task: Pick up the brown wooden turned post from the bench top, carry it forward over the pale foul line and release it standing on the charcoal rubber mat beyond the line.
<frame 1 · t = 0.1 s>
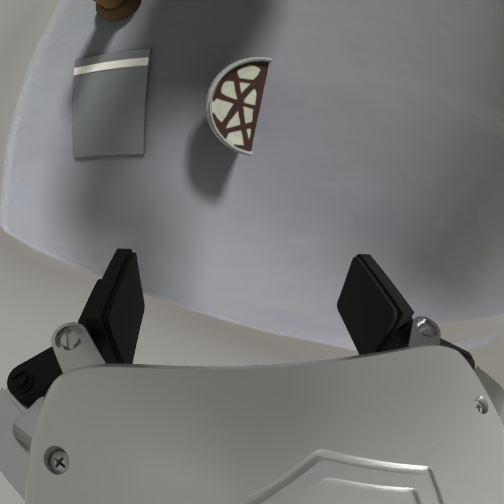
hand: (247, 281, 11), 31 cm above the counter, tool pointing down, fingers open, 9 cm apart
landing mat: (108, 103, 31), on the counter
brown wooden turned post: (121, 3, 23), on the counter
food container: (229, 101, 34), on the counter
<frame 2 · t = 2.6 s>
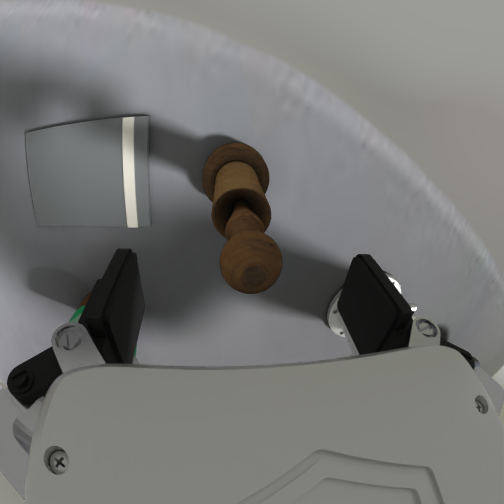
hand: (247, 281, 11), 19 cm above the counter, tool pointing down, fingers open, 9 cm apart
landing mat: (83, 174, 25), on the counter
brown wooden turned post: (234, 173, 28), on the counter
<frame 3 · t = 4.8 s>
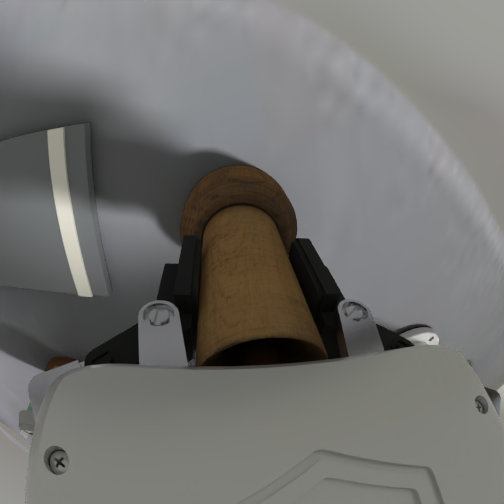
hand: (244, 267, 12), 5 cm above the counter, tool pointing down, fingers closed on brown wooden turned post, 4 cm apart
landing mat: (12, 218, 14), on the counter
brown wooden turned post: (236, 216, 17), on the counter, touching gripper
food container: (75, 366, 24), on the counter
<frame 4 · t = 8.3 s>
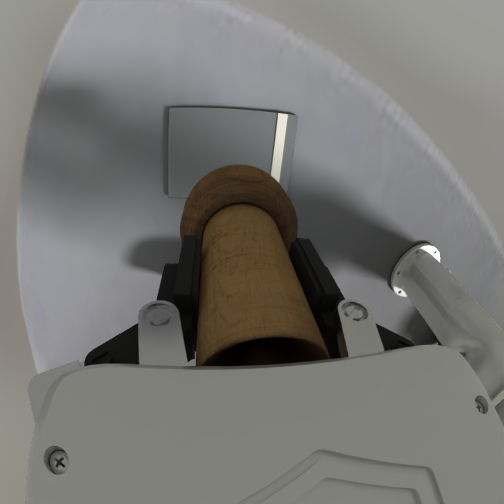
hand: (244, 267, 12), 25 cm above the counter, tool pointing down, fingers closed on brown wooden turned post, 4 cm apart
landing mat: (230, 153, 34), on the counter
brown wooden turned post: (236, 215, 17), point 20 cm above the counter, touching gripper
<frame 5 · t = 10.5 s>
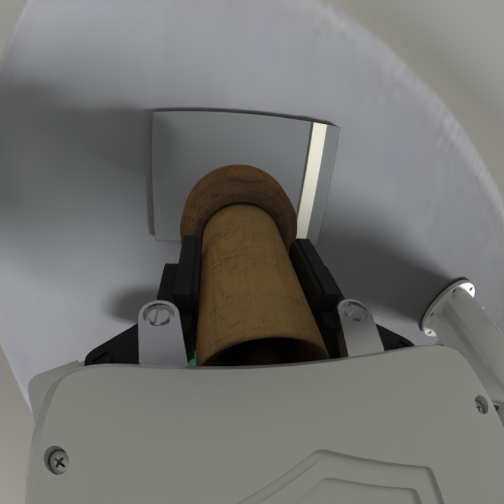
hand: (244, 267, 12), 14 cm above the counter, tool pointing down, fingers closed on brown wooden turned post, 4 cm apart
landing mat: (242, 179, 24), on the counter
brown wooden turned post: (236, 215, 17), point 8 cm above the counter, touching gripper
when the fingers open (8 cm above the counter, at t = 12.0 s): brown wooden turned post drops 1 cm, resting on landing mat.
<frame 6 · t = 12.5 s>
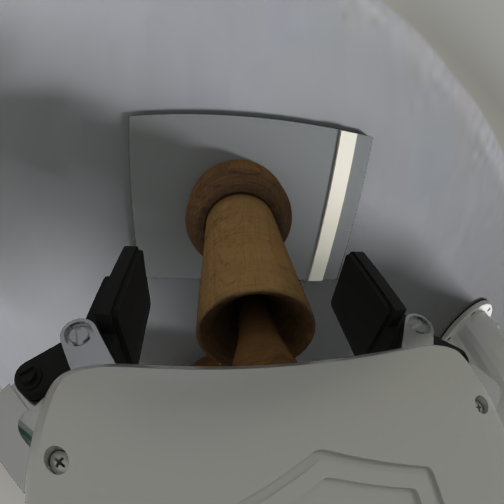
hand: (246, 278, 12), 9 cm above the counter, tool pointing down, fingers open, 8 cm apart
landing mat: (248, 203, 19), on the counter
brown wooden turned post: (236, 206, 18), point 1 cm above the counter, touching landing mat
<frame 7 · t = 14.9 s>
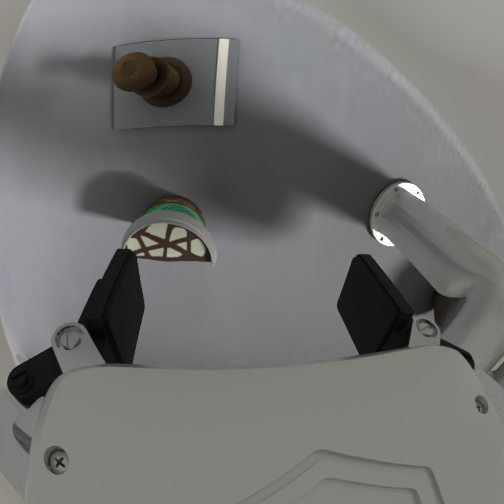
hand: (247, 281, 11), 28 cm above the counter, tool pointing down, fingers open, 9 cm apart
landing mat: (174, 82, 29), on the counter
pitcher: (448, 288, 61), on the counter
brown wooden turned post: (166, 82, 28), point 1 cm above the counter, touching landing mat
food container: (174, 207, 39), on the counter
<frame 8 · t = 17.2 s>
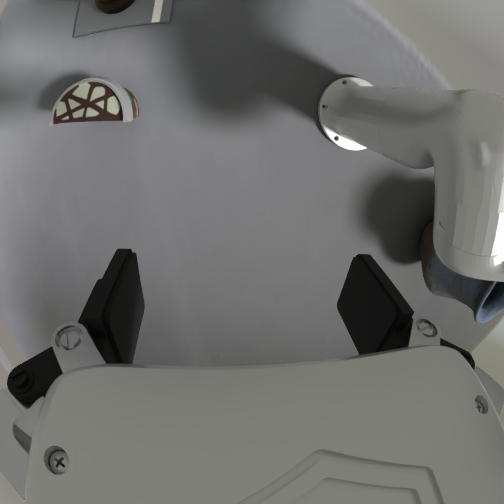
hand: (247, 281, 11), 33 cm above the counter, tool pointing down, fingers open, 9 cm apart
pitcher: (437, 234, 54), on the counter
food container: (113, 97, 33), on the counter
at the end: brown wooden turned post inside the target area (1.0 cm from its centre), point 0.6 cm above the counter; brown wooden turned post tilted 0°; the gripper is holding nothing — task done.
